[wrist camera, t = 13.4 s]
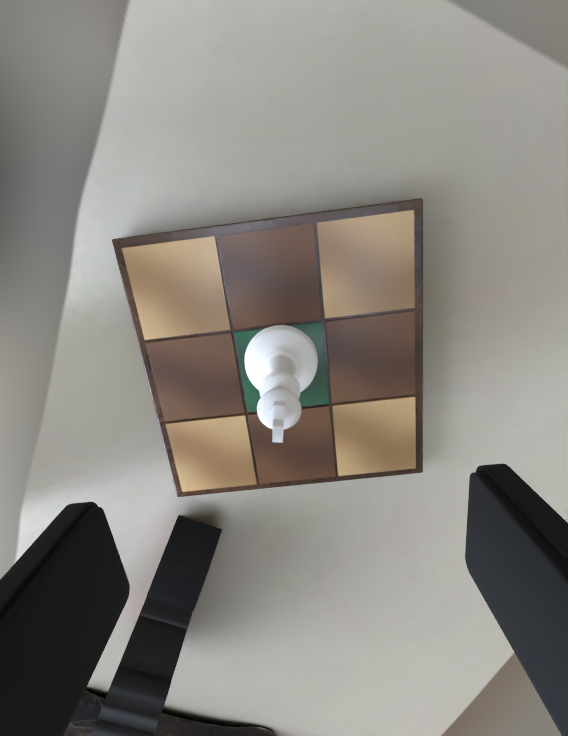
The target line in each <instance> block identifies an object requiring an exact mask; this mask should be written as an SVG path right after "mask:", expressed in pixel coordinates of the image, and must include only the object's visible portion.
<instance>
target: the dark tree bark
mask: <svg viewBox="0 0 568 736" xmlns="http://www.w3.org/2000/svg"><path fill="white" fill-rule="evenodd" d="M104 701H105V698H102V697H99V696H97V695H95V694H92V693H90V692H88V691H86V690H85V691H84V693H83V695H82V697H81V699H80V702H79V704H78V706H77V708H76V710H75V712H74V714H73V716H72V719H71V721H70V723H69V725H68V727H67V729H66V731H65V733H64V736H91V734H92V731H93V729H94V726H95V724H96V722H97V719H98V716H99V714H100V711H101V709H102V706H103V704H104ZM154 736H274V735H273V733H272V732H271V731H270V730H268V729H265V728H261V727H243V726H242V727H228V726H219V725H217V724H207V723H202V722H199V721H195V720H186V719H183V718H180V717H176V716H172V715H168V714H163V713H161V716H160V719H159V722H158V725H157V728H156V730H155V733H154Z"/></svg>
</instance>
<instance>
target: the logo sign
mask: <svg viewBox="0 0 568 736" xmlns="http://www.w3.org/2000/svg"><path fill="white" fill-rule="evenodd" d="M221 531H222V529H220V528H217V527H214V526H211V525H207V524H204V523H201V522H198V521H195V520H192V519H189V518H186V517H183V516H180V515H178V518H177V520H176V523H175V525H174V528H173V531H172V533H171V536H170V538H169V541H168V543H167V546H166V548H165V551H164V553H163V556H162V558H161V561H160V563H159V566H158V569H157V571H156V574H155V576H154V579H153V581H152V584H151V587H150V589H149V592H148V594H147V598H146V600H145V603H144V605H143V607H142V610H141V612H140V615H139V617H138V620H137V622H136V625H135V627H134V630H133V632H132V635H131V637H130V639H129V642H128V644H127V647H126V649H125V652H124V654H123V657H122V659H121V662H120V664H119V667H118V669H117V671H116V674H115V676H114V679H113V681H112V684H111V686H110V689H109V691H108V694H107V696H106V699H105V701H104V704H103V706H102V709H101V711H100V714H99V716H98V719H97V722H96V724H95V726H94V729H93V731H92V734H91V736H154V733H155V730H156V728H157V725H158V722H159V719H160V716H161V713H162V710H163V707H164V704H165V701H166V698H167V695H168V691H169V688H170V684H171V680H172V677H173V673H174V670H175V667H176V664H177V661H178V658H179V654H180V651H181V648H182V644H183V641H184V638H185V634H186V631H187V627H188V624H189V621H190V618H191V615H192V612H193V610H194V608H195V606H196V603H197V600H198V598H199V595H200V592H201V589H202V587H203V584H204V581H205V578H206V575H207V573H208V570H209V567H210V564H211V561H212V558H213V555H214V552H215V549H216V546H217V543H218V540H219V537H220V534H221Z"/></svg>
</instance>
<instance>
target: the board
mask: <svg viewBox="0 0 568 736" xmlns="http://www.w3.org/2000/svg"><path fill="white" fill-rule="evenodd" d="M112 242H113V246H114V250H115V254H116V257H117V261H118V265H119V269H120V273H121V277H122V281H123V285H124V289H125V293H126V297H127V301H128V305H129V309H130V313H131V316H132V320H133V324H134V328H135V332H136V336H137V340H138V344H139V348H140V352H141V356H142V360H143V364H144V368H145V372H146V375H147V379H148V383H149V387H150V391H151V395H152V399H153V403H154V407H155V411H156V415H157V419H158V423H159V427H160V431H161V434H162V438H163V442H164V446H165V450H166V454H167V458H168V462H169V466H170V470H171V474H172V478H173V482H174V486H175V490H176V493H177V497H182V496H192V495H202V494H212V493H222V492H232V491H242V490H252V489H262V488H272V487H282V486H292V485H302V484H312V483H322V482H332V481H342V480H352V479H362V478H372V477H382V476H392V475H402V474H412V473H422V472H423V200H422V199H413V200H406V201H398V202H390V203H383V204H375V205H368V206H360V207H353V208H345V209H337V210H330V211H322V212H315V213H307V214H300V215H292V216H285V217H277V218H269V219H262V220H254V221H247V222H239V223H232V224H224V225H216V226H209V227H201V228H194V229H186V230H179V231H171V232H163V233H156V234H148V235H141V236H133V237H126V238H118V239H113V240H112ZM275 325H287V326H291V327H295V328H297V329H299V330H301V331H302V332H304V333H305V334H306V335H307V336H308V337H309V338H310V339H311V340H312V342H313V344H314V346H315V348H316V351H317V355H318V366H317V371H316V374H315V377H314V379H313V380H312V382H311V383H310V385H309V386H308V387H307V388H306V389H305V390H303V391H302V392H301V393H300V397H299V401H300V403H301V415H300V418H299V420H298V421H297V422H296V424H294V425H293V426H292V427H290V428H288V429H285V430H284V432H283V443H278V442H272V437H273V436H272V431H273V429H271V428H269V427H267V426H265V425H264V424H263V423H262V422H261V421H260V419H259V417H258V414H257V405H258V402H259V400H260V398H261V397H260V392H259V390H258V389H257V388H256V387H255V386H254V385H253V384H252V383H251V381H250V380H249V378H248V376H247V373H246V369H245V353H246V349H247V347H248V344H249V343H250V341H251V340H252V338H253V337H254V336H255V335H256V334H257V333H259V332H260V331H262V330H263V329H265V328H268V327H271V326H275Z"/></svg>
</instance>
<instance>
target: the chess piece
mask: <svg viewBox="0 0 568 736" xmlns="http://www.w3.org/2000/svg"><path fill="white" fill-rule="evenodd" d="M317 366H318V355H317V351H316V348H315V346H314V344H313V342H312V340H311V339H310V338H309V337H308V336H307V335H306V334H305V333H304V332H302V331H301V330H299V329H297V328H295V327H291V326H287V325H275V326H271V327H268V328H265V329H263V330H262V331H260V332H259V333H257V334H256V335H255V336H254V337H253V338H252V340H251V341H250V343H249V344H248V347H247V349H246V353H245V369H246V373H247V376H248V378H249V380H250V381H251V383H252V384H253V385H254V386H255V387H256V388H257V389H258V390H259V392H260V397H261V398H260V400H259V402H258V405H257V414H258V417H259V419H260V421H261V422H262V423H263V424H264V425H265V426H267V427H269V428H271V429H273V431H272V436H273V437H272V442H278V443H283V432H284V430H285V429H288V428H290V427H292V426H293V425H294V424H296V422H297V421H298V420H299V418H300V415H301V403H300V401H299V397H300V393H301V392H302V391H303V390H305V389H306V388H307V387H308V386H309V385H310V383H311V382H312V380H313V379H314V377H315V374H316V371H317Z"/></svg>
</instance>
